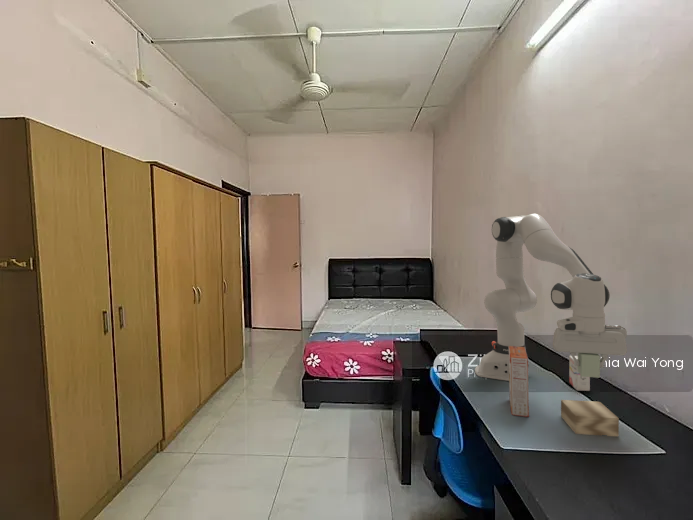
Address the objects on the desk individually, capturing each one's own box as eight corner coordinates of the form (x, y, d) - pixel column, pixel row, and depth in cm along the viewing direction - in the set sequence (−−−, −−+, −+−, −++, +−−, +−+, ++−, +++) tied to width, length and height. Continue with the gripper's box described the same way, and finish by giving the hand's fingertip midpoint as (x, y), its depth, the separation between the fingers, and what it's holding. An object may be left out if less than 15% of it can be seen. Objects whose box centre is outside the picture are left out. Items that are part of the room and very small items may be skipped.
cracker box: (508, 399, 143) (508, 345, 142) (525, 401, 141) (525, 346, 140) (510, 415, 130) (509, 356, 129) (529, 417, 128) (529, 357, 127)
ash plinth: (575, 434, 117) (575, 415, 116) (561, 416, 129) (561, 399, 128) (618, 437, 115) (618, 418, 114) (599, 419, 126) (599, 401, 126)
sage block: (581, 376, 120) (581, 354, 120) (577, 371, 125) (577, 350, 124) (599, 377, 118) (599, 355, 118) (594, 372, 123) (595, 351, 123)
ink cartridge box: (568, 382, 158) (568, 348, 157) (581, 383, 157) (581, 348, 156) (576, 390, 150) (576, 354, 149) (590, 391, 149) (590, 354, 148)
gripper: (622, 323, 121) (622, 365, 121) (551, 320, 127) (551, 361, 128) (630, 327, 115) (630, 372, 115) (555, 324, 121) (555, 366, 122)
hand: (588, 366), depth 122 cm, fingers closed on sage block, 5 cm apart
